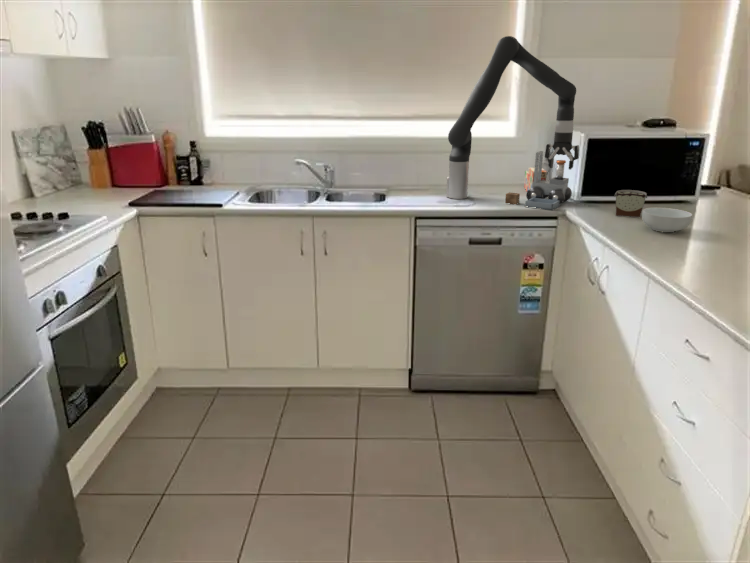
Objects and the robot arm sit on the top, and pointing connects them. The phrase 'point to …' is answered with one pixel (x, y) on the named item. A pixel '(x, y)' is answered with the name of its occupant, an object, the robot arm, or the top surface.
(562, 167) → the pin
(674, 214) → the cereal bowl
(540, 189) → the trolley
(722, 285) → the top surface
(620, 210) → the food container
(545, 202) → the tray
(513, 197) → the block
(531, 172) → the stack of blocks
